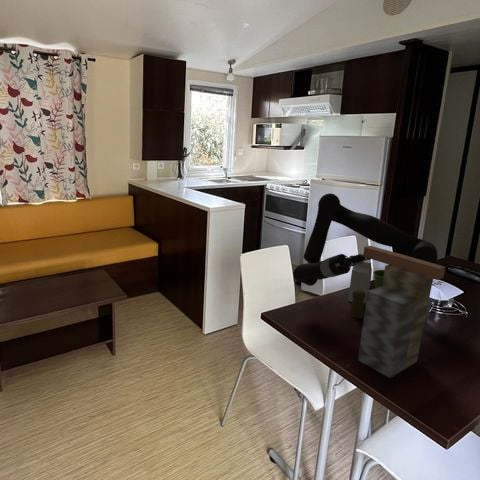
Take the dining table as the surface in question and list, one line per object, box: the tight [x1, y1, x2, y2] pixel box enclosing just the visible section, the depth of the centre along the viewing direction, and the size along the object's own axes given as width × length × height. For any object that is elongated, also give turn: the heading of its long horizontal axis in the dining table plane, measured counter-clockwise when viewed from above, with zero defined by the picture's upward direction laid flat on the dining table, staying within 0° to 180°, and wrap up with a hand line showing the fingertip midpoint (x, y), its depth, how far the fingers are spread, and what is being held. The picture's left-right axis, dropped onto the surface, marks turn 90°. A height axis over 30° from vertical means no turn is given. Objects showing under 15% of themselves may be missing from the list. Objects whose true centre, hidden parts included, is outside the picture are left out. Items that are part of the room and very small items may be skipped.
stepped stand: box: [357, 264, 434, 379], centre depth 124 cm, size 12×16×32 cm
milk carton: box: [347, 261, 373, 305], centre depth 173 cm, size 7×7×19 cm
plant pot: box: [372, 269, 385, 288], centre depth 181 cm, size 12×12×11 cm
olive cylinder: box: [348, 290, 365, 319], centre depth 160 cm, size 6×6×11 cm
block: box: [362, 245, 446, 281], centre depth 124 cm, size 26×4×4 cm, turn 38°
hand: (369, 255), depth 133 cm, fingers open, 8 cm apart
